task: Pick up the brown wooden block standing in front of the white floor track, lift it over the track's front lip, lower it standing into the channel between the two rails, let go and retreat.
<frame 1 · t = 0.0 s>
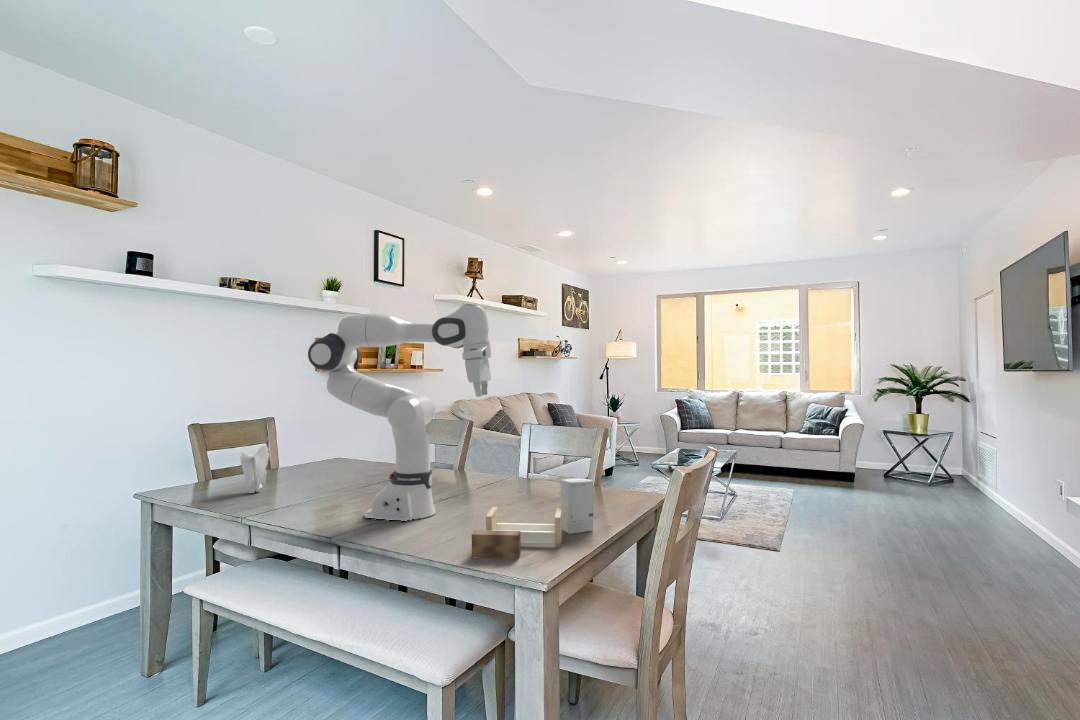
hand: (482, 395, 178), 39 cm above the table, tool pointing down, fingers open, 8 cm apart
track: (525, 541, 151), on the table
brown wooden block: (496, 556, 140), on the table
shell sculpture: (254, 493, 212), on the table
skincare box: (577, 530, 161), on the table
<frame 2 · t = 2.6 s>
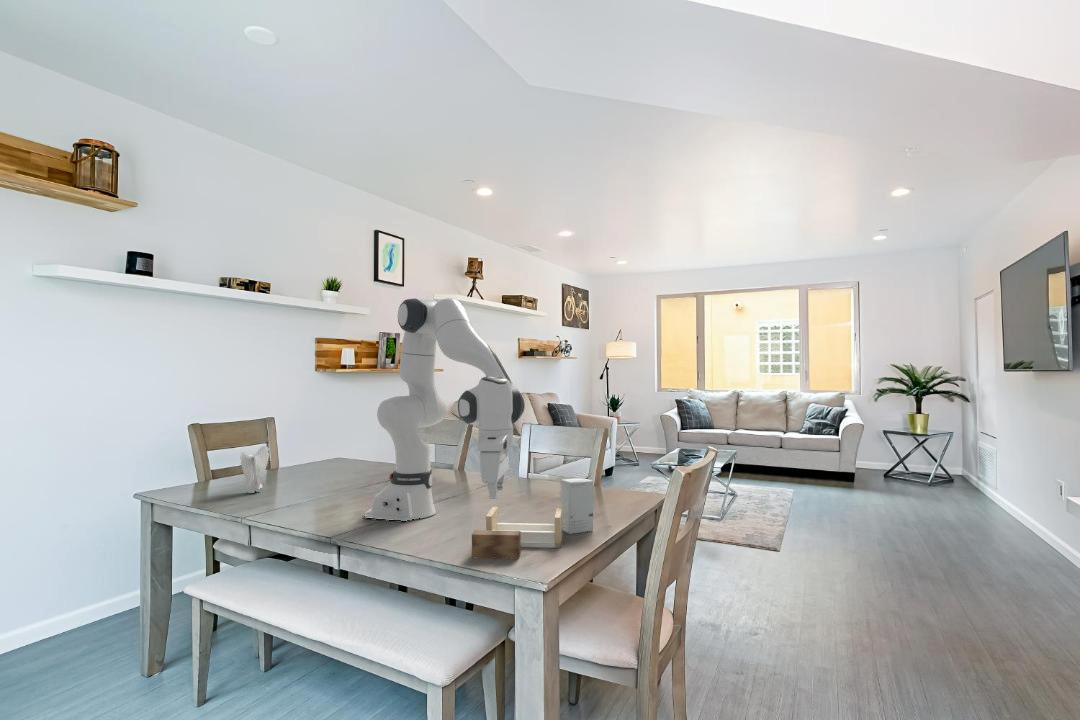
hand: (496, 494, 140), 16 cm above the table, tool pointing down, fingers open, 8 cm apart
nothing on the table moved.
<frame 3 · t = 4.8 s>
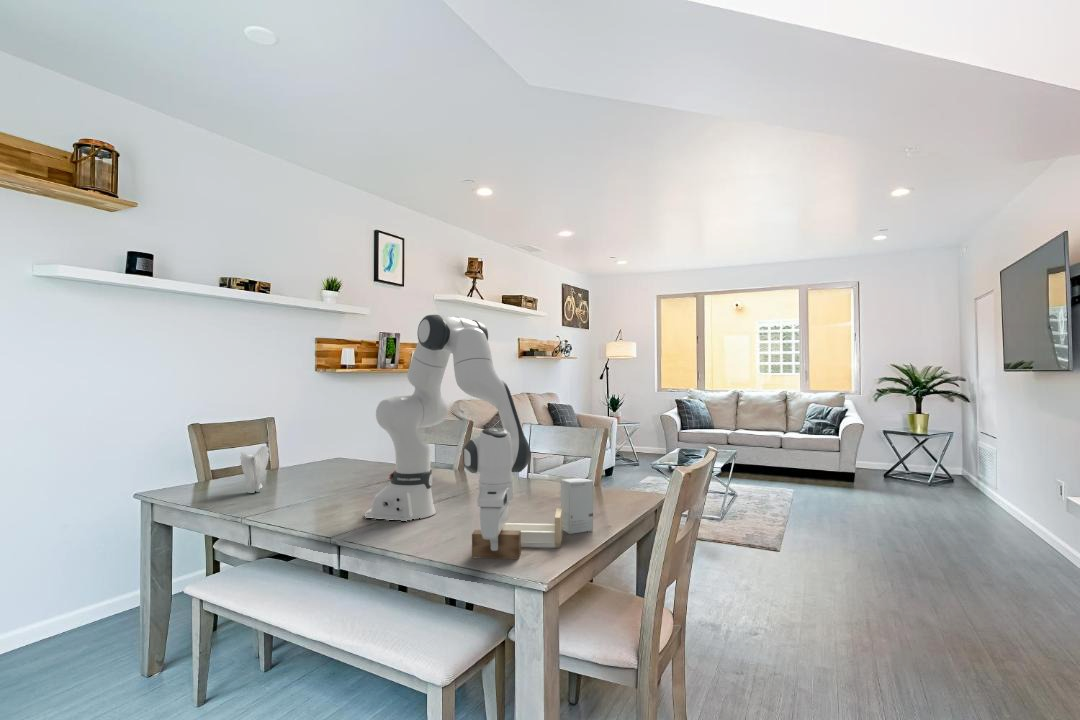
hand: (496, 546, 140), 2 cm above the table, tool pointing down, fingers closed on brown wooden block, 4 cm apart
brown wooden block: (496, 555, 140), on the table, touching gripper
everything else where it was.
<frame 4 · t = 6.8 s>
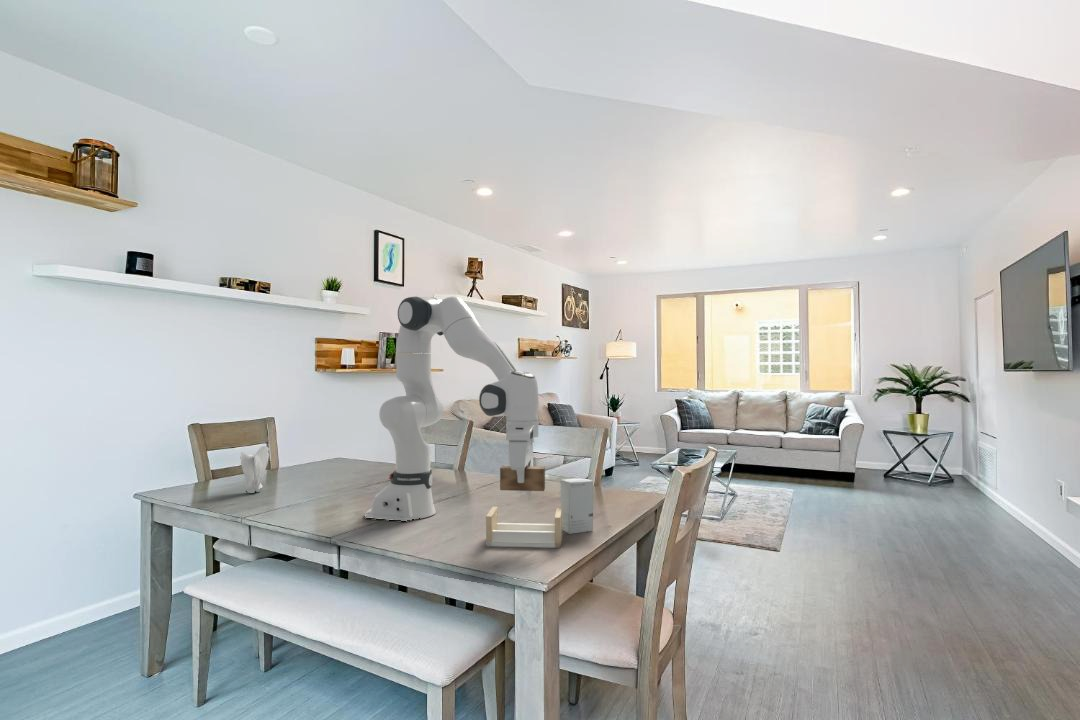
hand: (522, 480, 151), 17 cm above the table, tool pointing down, fingers closed on brown wooden block, 4 cm apart
brown wooden block: (522, 489, 151), point 14 cm above the table, touching gripper
everything else where it was.
when the fingers open (5 cm above the table, at t = 9.2 s): brown wooden block drops 1 cm, resting on track.
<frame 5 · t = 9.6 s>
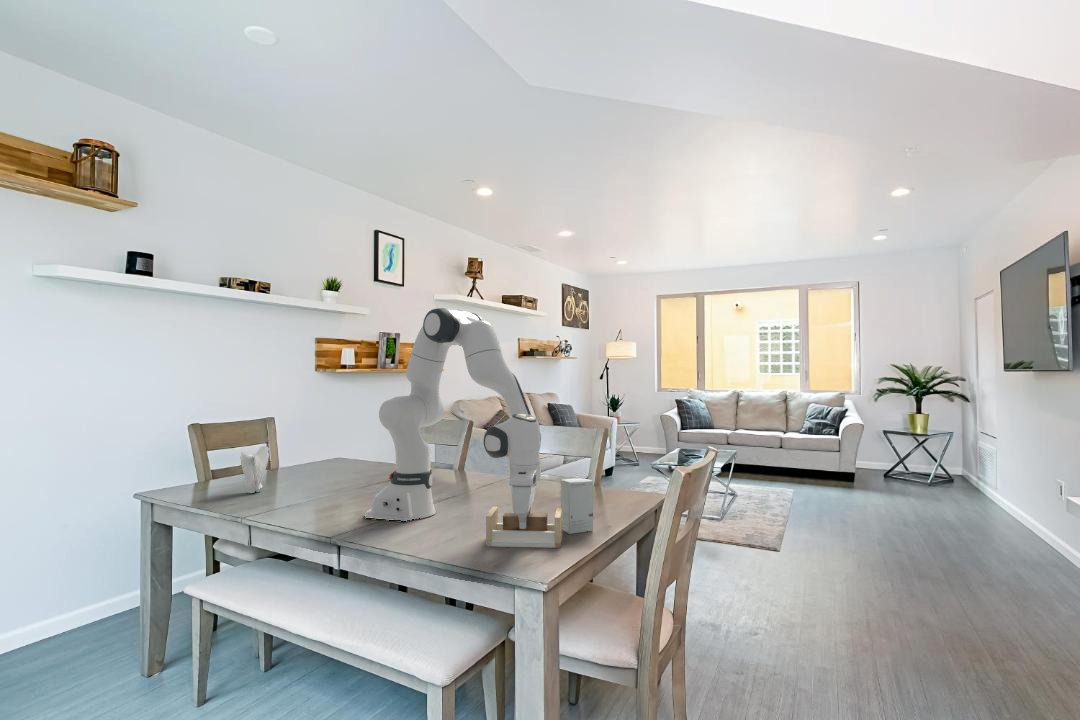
hand: (525, 523, 151), 5 cm above the table, tool pointing down, fingers open, 8 cm apart
brown wooden block: (525, 536, 151), point 1 cm above the table, touching track
everything else where it was.
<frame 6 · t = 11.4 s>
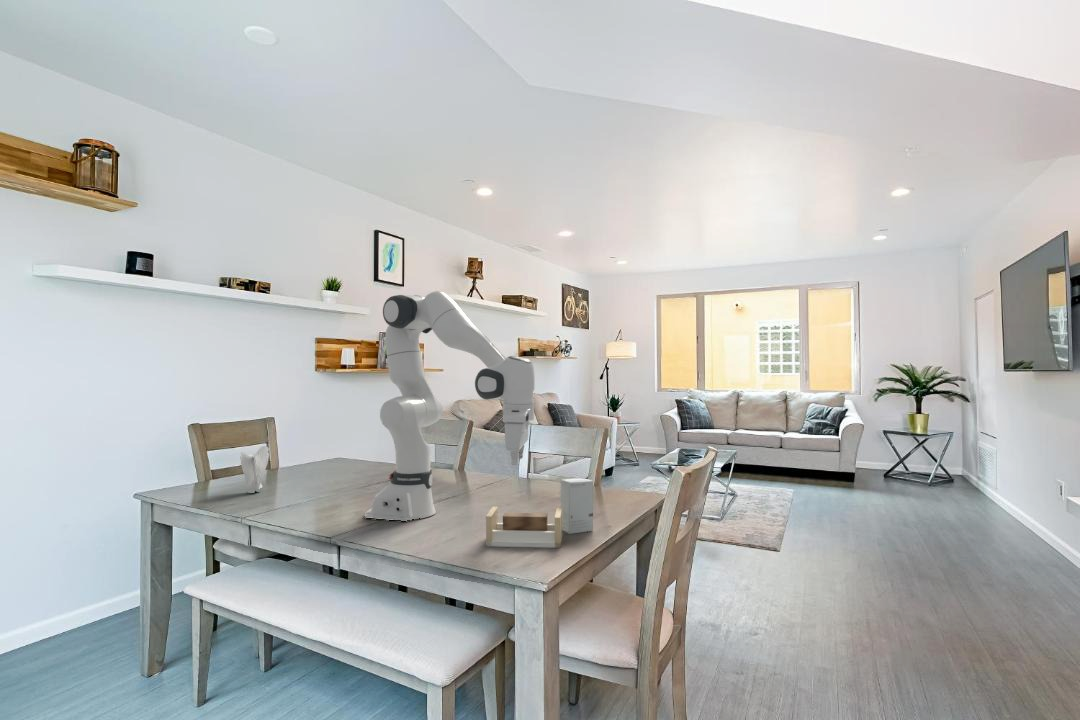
hand: (517, 461, 156), 21 cm above the table, tool pointing down, fingers open, 8 cm apart
nothing on the table moved.
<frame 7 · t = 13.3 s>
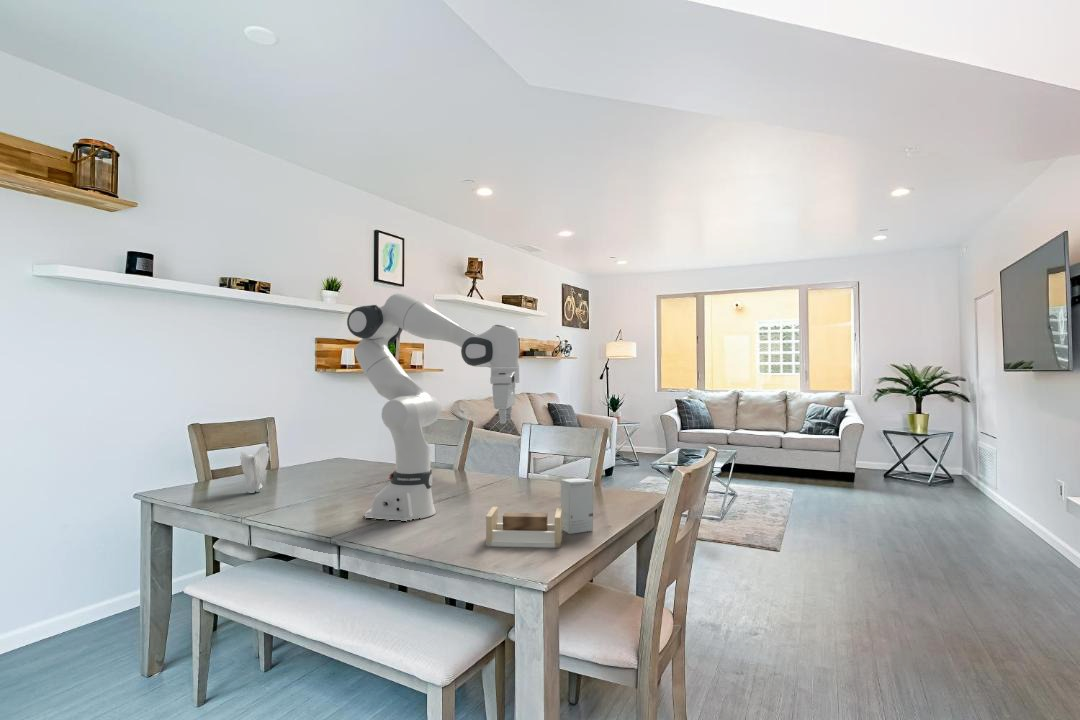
hand: (505, 422, 169), 31 cm above the table, tool pointing down, fingers open, 8 cm apart
nothing on the table moved.
at the end: brown wooden block 0.1 cm off-centre on the track, point 1.2 cm above the track's base; brown wooden block tilted 0°; the gripper is holding nothing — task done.
